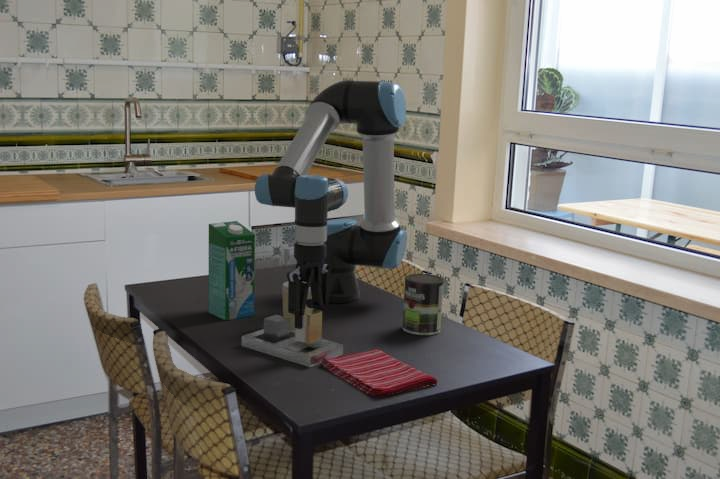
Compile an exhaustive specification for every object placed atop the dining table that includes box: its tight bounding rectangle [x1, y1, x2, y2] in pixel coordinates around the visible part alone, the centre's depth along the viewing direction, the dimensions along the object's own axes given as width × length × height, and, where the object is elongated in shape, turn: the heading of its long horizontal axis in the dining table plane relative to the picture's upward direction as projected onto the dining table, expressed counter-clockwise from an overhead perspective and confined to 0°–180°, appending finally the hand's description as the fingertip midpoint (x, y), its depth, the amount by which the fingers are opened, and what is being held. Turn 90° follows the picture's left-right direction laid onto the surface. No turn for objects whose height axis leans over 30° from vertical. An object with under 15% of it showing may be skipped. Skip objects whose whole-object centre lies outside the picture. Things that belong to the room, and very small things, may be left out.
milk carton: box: [208, 220, 256, 321], centre depth 228 cm, size 9×9×25 cm
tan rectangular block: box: [295, 308, 323, 344], centre depth 199 cm, size 4×4×7 cm
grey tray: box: [241, 328, 344, 368], centre depth 203 cm, size 12×22×2 cm, turn 53°
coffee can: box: [401, 273, 445, 336], centre depth 222 cm, size 10×10×14 cm
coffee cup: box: [281, 280, 314, 331], centre depth 219 cm, size 9×9×12 cm
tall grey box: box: [263, 314, 290, 343], centre depth 205 cm, size 4×4×7 cm
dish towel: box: [319, 349, 438, 398], centre depth 189 cm, size 17×24×3 cm
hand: (307, 338), depth 199 cm, fingers closed on tan rectangular block, 4 cm apart
